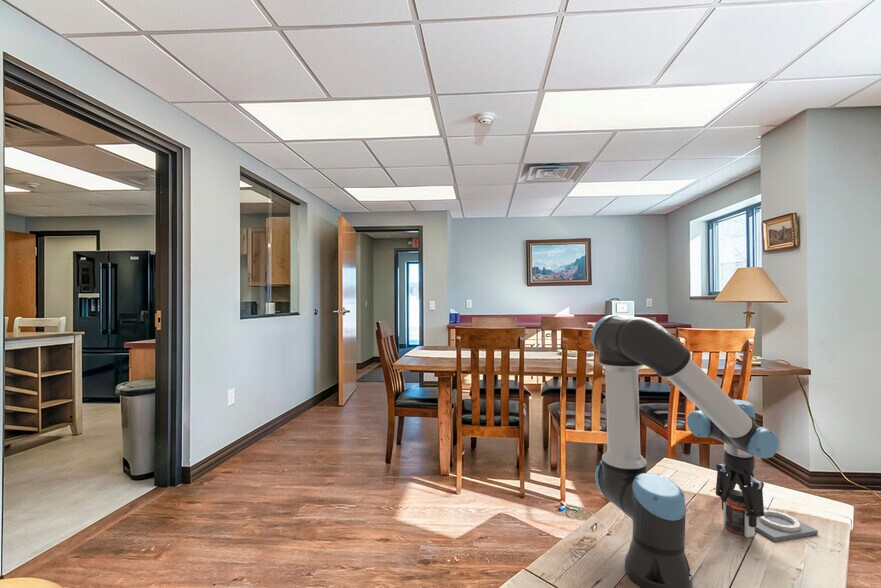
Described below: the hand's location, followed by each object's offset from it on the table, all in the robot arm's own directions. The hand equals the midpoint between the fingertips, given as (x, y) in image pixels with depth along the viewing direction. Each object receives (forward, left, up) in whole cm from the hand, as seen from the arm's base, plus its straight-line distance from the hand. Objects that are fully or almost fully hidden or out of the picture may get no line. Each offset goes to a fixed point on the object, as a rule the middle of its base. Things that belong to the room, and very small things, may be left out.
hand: (738, 529), depth 127 cm
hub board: (+13, -1, 0) cm, 13 cm away
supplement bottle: (0, 0, 0) cm, 0 cm away
